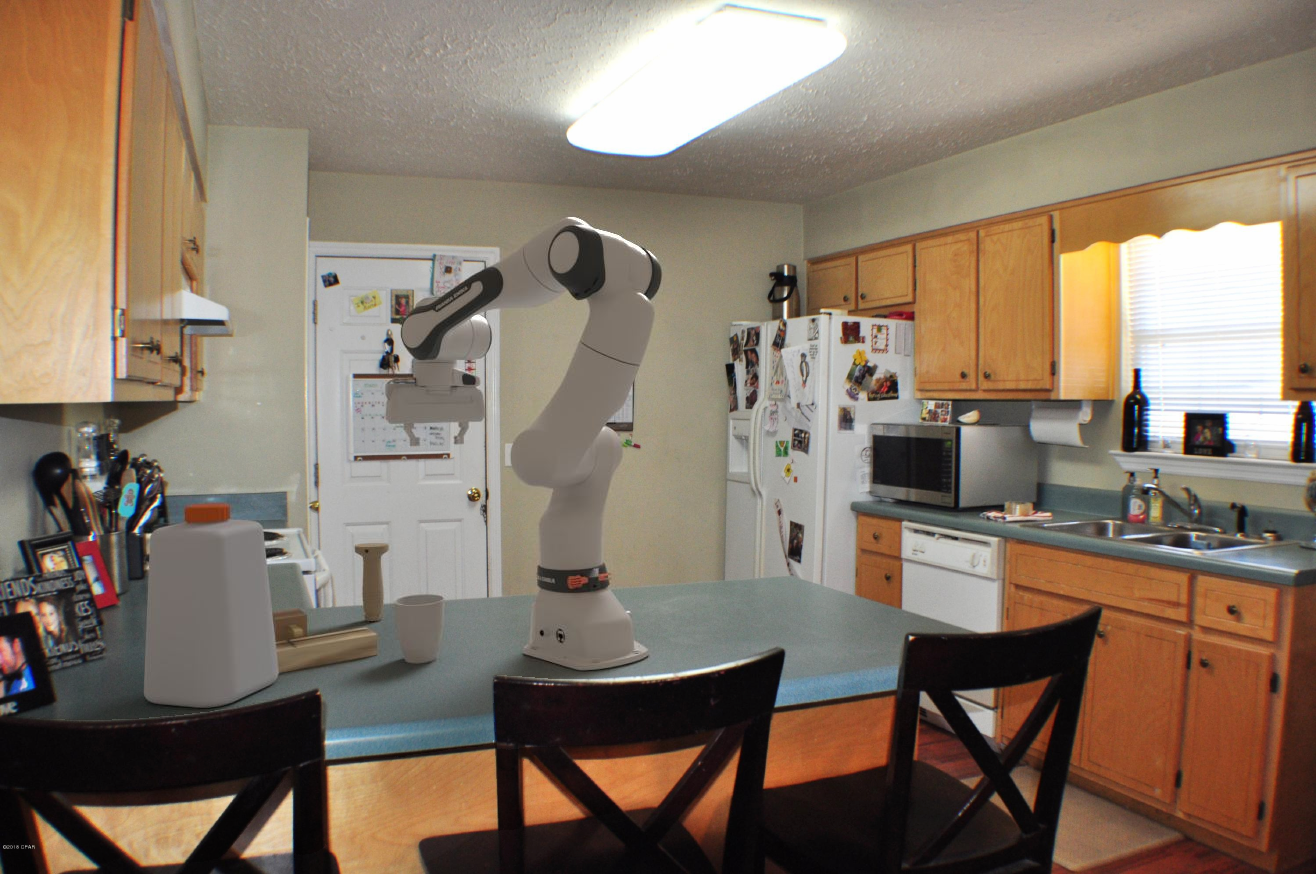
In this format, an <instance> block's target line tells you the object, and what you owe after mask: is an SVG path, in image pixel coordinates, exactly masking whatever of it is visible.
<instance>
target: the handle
mask: <svg viewBox="0 0 1316 874" xmlns="http://www.w3.org/2000/svg"><path fill="white" fill-rule="evenodd" d="M389 547H390V545H389V543H386V542H367V543H365V542H364V543H359V544H355V545H354V553H355V554H357V555H359V556H361V557H362V592H361V593H362V594H361V595H362V605H363V611H364V613H365V614H363V615H364V621H366V622H369V621H371V622H370V623H373V622H372V621H374V622H379V620H380V619H381V620H383V615H384V613H383V611H384V601H385V597H384V593H385V592H384V581H383V572H382V570H383V569H382V556H383V555H384V554H386V553H387V552H388V551H389V550H390V548H389ZM381 620H380V621H381Z"/></svg>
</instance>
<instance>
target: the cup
mask: <svg viewBox="0 0 1316 874" xmlns="http://www.w3.org/2000/svg"><path fill="white" fill-rule="evenodd" d="M393 603H394V616H395V627H396V633H397V637H398V642H399V646H400V649H401V652H402V655H403V658H404V661H405V662H406V663H409V664H425V663H426V664H427V663H429V662H433V661H435V660H437V657H438V653H439V650H440V647H441V644H442V639H443V638H442V637H443V630H444V624H445V623H444V622H445V603H446V601H445V596H443V595H442V594H441V595H439V594H434V593H428V594H427V593H421V594H410V595H406V596H405V595H404V596H401V597H398V598H396V599H395V600H394V602H393Z"/></svg>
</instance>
